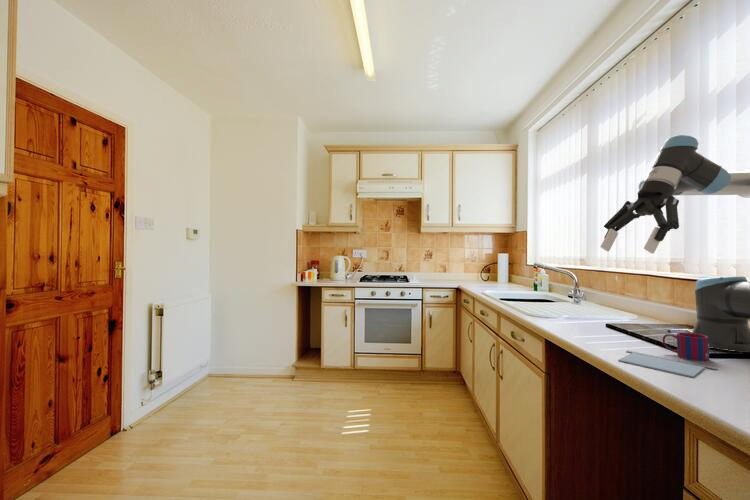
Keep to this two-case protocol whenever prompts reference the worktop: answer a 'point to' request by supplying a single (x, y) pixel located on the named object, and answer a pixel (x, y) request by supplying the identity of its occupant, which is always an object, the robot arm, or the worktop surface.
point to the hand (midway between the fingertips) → (624, 250)
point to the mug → (691, 346)
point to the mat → (663, 364)
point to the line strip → (674, 360)
